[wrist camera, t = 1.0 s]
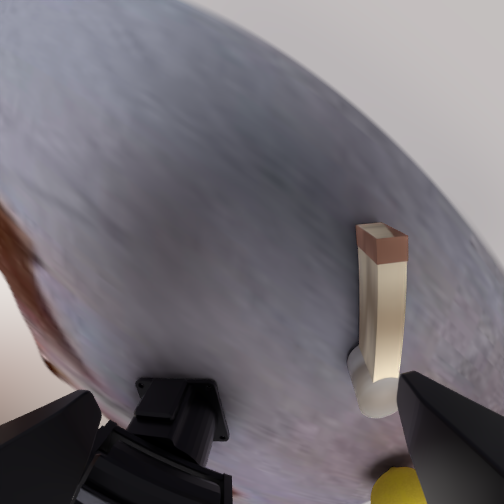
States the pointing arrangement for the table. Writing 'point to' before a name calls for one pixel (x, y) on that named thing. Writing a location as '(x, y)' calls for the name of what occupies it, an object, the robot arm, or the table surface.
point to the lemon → (398, 487)
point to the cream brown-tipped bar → (379, 318)
